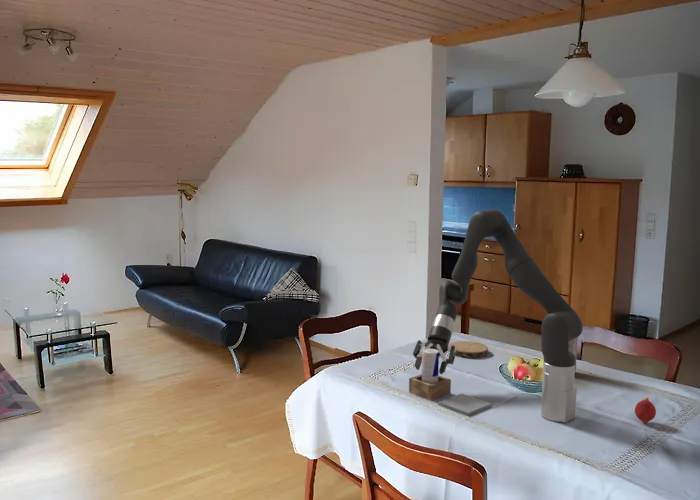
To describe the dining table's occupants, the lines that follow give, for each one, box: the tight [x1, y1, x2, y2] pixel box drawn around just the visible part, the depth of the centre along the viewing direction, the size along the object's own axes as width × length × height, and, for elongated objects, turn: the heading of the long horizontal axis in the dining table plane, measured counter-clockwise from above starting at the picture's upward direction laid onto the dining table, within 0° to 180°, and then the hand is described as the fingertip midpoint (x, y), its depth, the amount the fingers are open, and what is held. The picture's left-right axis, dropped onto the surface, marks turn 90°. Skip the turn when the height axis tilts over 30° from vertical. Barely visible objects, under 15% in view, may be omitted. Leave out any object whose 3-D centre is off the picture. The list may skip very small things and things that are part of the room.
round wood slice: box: [448, 340, 489, 359], centre depth 255 cm, size 16×16×3 cm
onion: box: [634, 396, 657, 424], centre depth 184 cm, size 6×6×8 cm
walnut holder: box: [408, 373, 452, 401], centre depth 208 cm, size 10×10×5 cm
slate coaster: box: [438, 392, 492, 417], centre depth 197 cm, size 12×12×1 cm
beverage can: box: [421, 348, 440, 384], centre depth 207 cm, size 6×6×15 cm
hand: (428, 370), depth 206 cm, fingers open, 8 cm apart
